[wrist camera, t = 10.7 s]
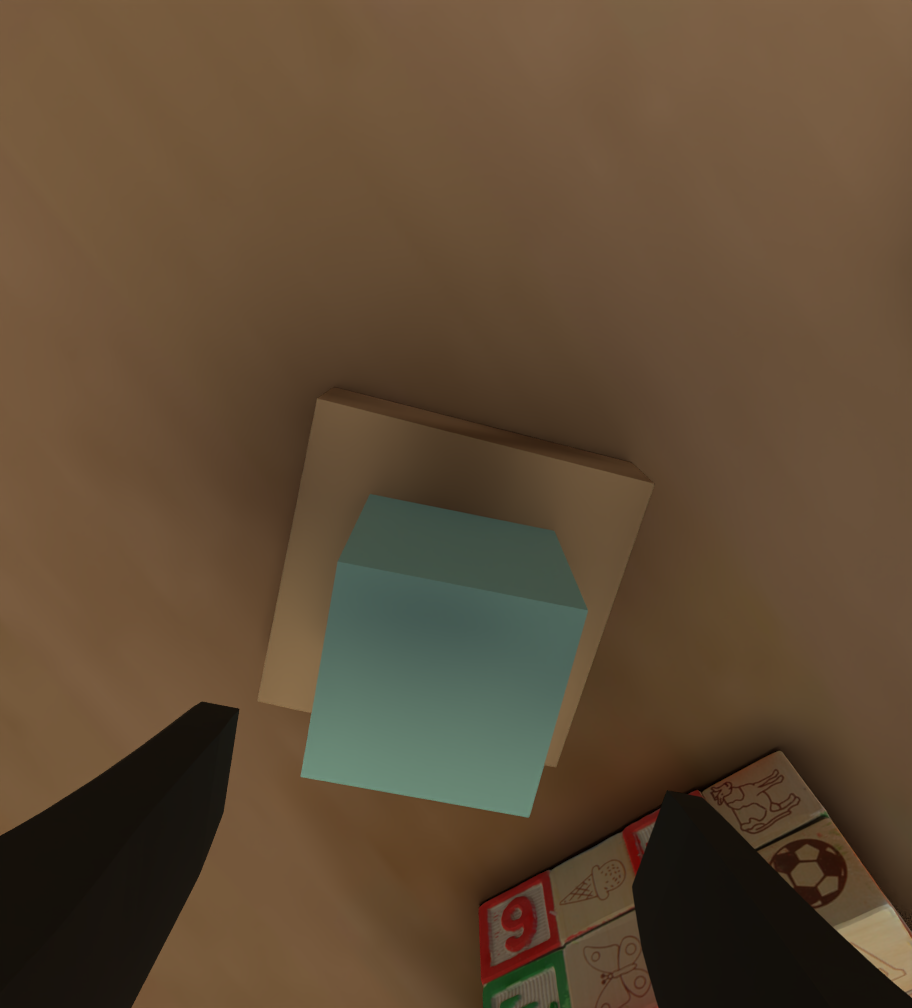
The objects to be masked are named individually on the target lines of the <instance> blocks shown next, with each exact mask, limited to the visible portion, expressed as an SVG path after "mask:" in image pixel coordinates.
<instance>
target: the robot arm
mask: <svg viewBox="0 0 912 1008" xmlns="http://www.w3.org/2000/svg"><path fill="white" fill-rule="evenodd" d="M238 714H239V709H238V708H233V707H228V706H222V705H217V704H212V703H207V702H200V703H199V704H197V705H195V706H194V707H192V708H191V709H190V710H188V711H187V712H186V713H184V714H183V715H182V716H181V717H179V718H178V719H177V720H175V721H174V722H173V723H171V724H170V725H169V726H167V727H166V728H165V729H163V730H162V731H161V732H160V733H158V734H157V735H155V736H154V737H153V738H151V739H150V740H149V741H147V742H146V743H145V744H143V745H142V746H141V747H139V748H138V749H136V750H135V751H134V752H132V753H131V754H129V755H128V756H126V757H125V758H124V759H122V760H121V761H119V762H118V763H117V764H115V765H114V766H112V767H111V768H109V769H108V770H107V771H105V772H104V773H102V774H101V775H99V776H98V777H96V778H95V779H93V780H92V781H90V782H89V783H87V784H86V785H84V786H82V787H81V788H79V789H78V790H76V791H75V792H73V793H71V794H70V795H68V796H67V797H65V798H63V799H62V800H60V801H59V802H57V803H56V804H54V805H52V806H51V807H49V808H48V809H46V810H44V811H43V812H41V813H39V814H38V815H36V816H34V817H33V818H31V819H29V820H27V821H26V822H24V823H22V824H21V825H19V826H17V827H15V828H14V829H12V830H10V831H8V832H6V833H5V834H3V835H1V836H0V1008H131V1007H132V1005H133V1003H134V1001H135V999H136V997H137V996H138V994H139V992H140V990H141V988H142V986H143V984H144V982H145V980H146V978H147V976H148V974H149V972H150V970H151V968H152V966H153V965H154V963H155V961H156V959H157V957H158V955H159V953H160V951H161V949H162V947H163V945H164V943H165V941H166V939H167V937H168V936H169V934H170V932H171V930H172V928H173V926H174V924H175V922H176V920H177V918H178V916H179V914H180V912H181V910H182V908H183V906H184V904H185V902H186V900H187V898H188V896H189V895H190V893H191V891H192V889H193V887H194V885H195V883H196V881H197V879H198V877H199V875H200V872H201V870H202V867H203V865H204V862H205V860H206V857H207V854H208V852H209V849H210V847H211V844H212V842H213V839H214V836H215V834H216V831H217V828H218V826H219V823H220V820H221V818H222V815H223V812H224V805H225V799H226V792H227V786H228V779H229V773H230V766H231V760H232V753H233V747H234V740H235V734H236V727H237V721H238ZM632 892H633V899H634V905H635V912H636V919H637V925H638V930H639V936H640V941H641V947H642V952H643V956H644V959H645V963H646V967H647V970H648V974H649V977H650V981H651V984H652V988H653V991H654V995H655V998H656V1002H657V1005H658V1008H912V997H910V996H909V995H908V994H907V993H906V992H904V991H903V990H902V989H901V988H900V987H898V986H897V985H896V984H895V983H894V982H893V981H891V980H890V979H889V978H888V977H887V976H886V975H885V974H883V973H882V972H881V971H880V970H879V969H878V968H877V967H875V966H874V965H873V964H872V963H871V962H870V961H869V960H868V959H867V958H866V957H865V956H863V955H862V954H861V953H860V952H859V951H858V950H857V949H856V948H855V947H854V946H853V945H852V944H850V943H849V942H848V941H847V940H846V939H845V938H844V937H843V936H842V935H841V934H840V933H839V932H838V931H836V930H835V929H834V928H833V927H832V926H831V925H830V924H829V923H828V922H827V921H826V920H825V919H824V918H823V917H822V916H821V915H820V914H819V913H818V912H817V911H816V910H815V909H814V908H813V907H812V906H811V905H810V904H808V903H807V902H806V901H805V900H804V899H803V898H802V897H801V896H800V895H799V894H798V893H797V892H796V891H795V890H794V889H793V888H792V887H791V886H790V885H789V884H788V883H787V882H786V881H785V880H784V878H783V877H782V876H781V875H780V874H779V873H778V872H777V871H776V870H775V869H774V868H773V867H772V866H771V865H770V864H769V863H768V862H767V861H766V860H765V859H764V858H763V857H762V856H761V855H760V854H759V853H758V852H757V851H756V850H755V849H754V848H753V847H752V846H751V845H750V844H749V843H748V842H747V841H746V840H745V839H744V838H743V836H742V835H741V834H740V833H739V832H738V831H737V830H736V829H735V828H734V827H733V826H732V825H731V824H730V823H729V822H728V821H727V820H726V819H725V818H724V817H723V816H722V815H721V814H720V813H719V812H718V811H717V810H715V809H714V808H713V807H712V806H711V805H710V804H709V803H708V802H707V801H706V800H705V799H704V798H702V797H699V796H694V795H689V794H683V793H678V792H673V791H668V790H667V792H666V794H665V797H664V800H663V803H662V805H661V808H660V811H659V813H658V816H657V819H656V822H655V824H654V827H653V830H652V833H651V835H650V838H649V841H648V843H647V846H646V849H645V852H644V854H643V857H642V860H641V863H640V865H639V868H638V871H637V873H636V876H635V879H634V882H633V884H632Z"/></svg>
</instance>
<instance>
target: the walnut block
mask: <svg viewBox="0 0 912 1008" xmlns="http://www.w3.org/2000/svg"><path fill="white" fill-rule="evenodd" d="M654 485H655V484H654V483H653V482H652V481H651V480H650V479H649V478H648V477H647V476H646V475H645V474H643V473H642V472H641V471H640V470H639V469H638V468H637V467H636V466H635V465H634V464H633V463H631V462H627V461H623V460H619V459H616V458H612V457H608V456H604V455H600V454H596V453H592V452H588V451H584V450H580V449H576V448H572V447H568V446H564V445H560V444H556V443H553V442H549V441H545V440H541V439H537V438H533V437H529V436H525V435H521V434H517V433H513V432H509V431H505V430H501V429H497V428H494V427H490V426H486V425H482V424H478V423H474V422H470V421H466V420H462V419H458V418H454V417H450V416H446V415H442V414H438V413H434V412H431V411H427V410H423V409H419V408H415V407H411V406H407V405H403V404H399V403H395V402H391V401H387V400H383V399H379V398H375V397H372V396H368V395H364V394H360V393H356V392H352V391H348V390H344V389H340V388H336V387H333V388H332V389H330V390H329V391H327V392H326V393H324V394H323V395H321V396H320V397H318V398H317V402H316V407H315V412H314V417H313V422H312V427H311V432H310V437H309V442H308V447H307V452H306V457H305V462H304V467H303V472H302V477H301V482H300V487H299V493H298V498H297V503H296V508H295V513H294V518H293V523H292V528H291V533H290V538H289V543H288V548H287V553H286V558H285V563H284V568H283V573H282V578H281V583H280V589H279V594H278V599H277V604H276V609H275V614H274V619H273V624H272V629H271V634H270V639H269V644H268V649H267V654H266V659H265V664H264V669H263V674H262V679H261V685H260V690H259V695H258V700H257V701H259V702H264V703H268V704H273V705H277V706H282V707H286V708H291V709H295V710H300V711H304V712H309V713H312V708H313V702H314V696H315V691H316V685H317V679H318V673H319V667H320V661H321V656H322V650H323V644H324V638H325V632H326V626H327V621H328V615H329V609H330V603H331V597H332V591H333V586H334V580H335V574H336V568H337V562H338V560H339V558H340V555H341V553H342V551H343V549H344V547H345V545H346V543H347V541H348V539H349V537H350V535H351V533H352V530H353V528H354V526H355V524H356V522H357V520H358V518H359V516H360V514H361V512H362V510H363V508H364V505H365V503H366V501H367V499H368V497H369V495H370V494H373V495H378V496H383V497H388V498H393V499H398V500H403V501H408V502H413V503H418V504H423V505H428V506H433V507H438V508H443V509H448V510H453V511H458V512H463V513H468V514H473V515H478V516H483V517H488V518H493V519H498V520H503V521H508V522H513V523H517V524H522V525H527V526H532V527H537V528H542V529H547V530H552V531H555V533H556V536H557V538H558V541H559V543H560V545H561V548H562V550H563V552H564V555H565V557H566V559H567V562H568V564H569V566H570V569H571V571H572V573H573V576H574V578H575V581H576V583H577V585H578V588H579V590H580V592H581V595H582V597H583V599H584V602H585V604H586V606H587V609H588V613H587V617H586V620H585V624H584V627H583V631H582V634H581V638H580V641H579V645H578V648H577V652H576V655H575V659H574V662H573V666H572V669H571V673H570V676H569V680H568V683H567V687H566V690H565V694H564V697H563V701H562V704H561V708H560V711H559V715H558V718H557V722H556V725H555V729H554V732H553V736H552V739H551V743H550V746H549V750H548V753H547V757H546V760H545V764H544V765H548V766H552V767H556V766H557V763H558V760H559V757H560V754H561V752H562V749H563V746H564V743H565V740H566V737H567V734H568V731H569V729H570V726H571V723H572V720H573V717H574V714H575V711H576V709H577V706H578V703H579V700H580V697H581V694H582V691H583V688H584V686H585V683H586V680H587V677H588V674H589V671H590V668H591V665H592V663H593V660H594V657H595V654H596V651H597V648H598V645H599V643H600V640H601V637H602V634H603V631H604V628H605V625H606V622H607V620H608V617H609V614H610V611H611V608H612V605H613V602H614V599H615V597H616V594H617V591H618V588H619V585H620V582H621V579H622V577H623V574H624V571H625V568H626V565H627V562H628V559H629V556H630V554H631V551H632V548H633V545H634V542H635V539H636V536H637V534H638V531H639V528H640V525H641V522H642V519H643V516H644V513H645V511H646V508H647V505H648V502H649V499H650V496H651V493H652V490H653V488H654Z"/></svg>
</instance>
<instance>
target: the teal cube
mask: <svg viewBox="0 0 912 1008" xmlns="http://www.w3.org/2000/svg"><path fill="white" fill-rule="evenodd" d="M587 613H588V609H587V606H586V604H585V602H584V599H583V597H582V595H581V592H580V590H579V588H578V585H577V583H576V581H575V578H574V576H573V573H572V571H571V569H570V566H569V564H568V562H567V559H566V557H565V555H564V552H563V550H562V548H561V545H560V543H559V541H558V538H557V536H556V533H555V531H552V530H547V529H542V528H537V527H532V526H527V525H522V524H517V523H513V522H508V521H503V520H498V519H493V518H488V517H483V516H478V515H473V514H468V513H463V512H458V511H453V510H448V509H443V508H438V507H433V506H428V505H423V504H418V503H413V502H408V501H403V500H398V499H393V498H388V497H383V496H378V495H373V494H370V495H369V497H368V499H367V501H366V503H365V505H364V508H363V510H362V512H361V514H360V516H359V518H358V520H357V522H356V524H355V526H354V528H353V530H352V533H351V535H350V537H349V539H348V541H347V543H346V545H345V547H344V549H343V551H342V553H341V555H340V558H339V560H338V562H337V568H336V574H335V580H334V586H333V591H332V597H331V603H330V609H329V615H328V621H327V626H326V632H325V638H324V644H323V650H322V656H321V661H320V667H319V673H318V679H317V685H316V691H315V696H314V702H313V708H312V714H311V720H310V726H309V731H308V737H307V743H306V749H305V755H304V761H303V766H302V772H301V777H305V778H310V779H316V780H321V781H327V782H333V783H338V784H344V785H349V786H355V787H361V788H366V789H372V790H377V791H383V792H389V793H394V794H400V795H405V796H411V797H417V798H422V799H428V800H433V801H439V802H445V803H450V804H456V805H461V806H467V807H473V808H478V809H484V810H489V811H495V812H501V813H506V814H512V815H517V816H523V817H529V816H530V813H531V809H532V806H533V802H534V799H535V795H536V792H537V788H538V785H539V781H540V778H541V774H542V771H543V767H544V764H545V760H546V757H547V753H548V750H549V746H550V743H551V739H552V736H553V732H554V729H555V725H556V722H557V718H558V715H559V711H560V708H561V704H562V701H563V697H564V694H565V690H566V687H567V683H568V680H569V676H570V673H571V669H572V666H573V662H574V659H575V655H576V652H577V648H578V645H579V641H580V638H581V634H582V631H583V627H584V624H585V620H586V617H587Z"/></svg>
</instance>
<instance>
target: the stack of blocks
mask: <svg viewBox="0 0 912 1008" xmlns="http://www.w3.org/2000/svg"><path fill="white" fill-rule="evenodd" d="M689 795H694V796H699V797H702V798H704V799H705V800H706V801H707V802H708V803H709V804H710V805H711V806H712V807H713V808H714V809H715V810H717V811H718V812H719V813H720V814H721V815H722V816H723V817H724V818H725V819H726V820H727V821H728V822H729V823H730V824H731V825H732V826H733V827H734V828H735V829H736V830H737V831H738V832H739V833H740V834H741V835H742V836H743V838H744V839H745V840H746V841H747V842H748V843H749V844H750V845H751V846H752V847H753V848H754V849H755V850H756V851H757V852H758V853H759V854H760V855H761V856H762V857H763V858H764V859H765V860H766V861H767V862H768V863H769V864H770V865H771V866H772V867H773V868H774V869H775V870H776V871H777V872H778V873H779V874H780V875H781V876H782V877H783V878H784V880H785V881H786V882H787V883H788V884H789V885H790V886H791V887H792V888H793V889H794V890H795V891H796V892H797V893H798V894H799V895H800V896H801V897H802V898H803V899H804V900H805V901H806V902H807V903H808V904H810V905H811V906H812V907H813V908H814V909H815V910H816V911H817V912H818V913H819V914H820V915H821V916H822V917H823V918H824V919H825V920H826V921H827V922H828V923H829V924H830V925H831V926H832V927H833V928H834V929H835V930H836V931H838V932H839V933H840V934H841V935H842V936H843V937H844V938H845V939H846V940H847V941H848V942H849V943H850V944H852V945H853V946H854V947H855V948H856V949H857V950H858V951H859V952H860V953H861V954H862V955H863V956H865V957H866V958H867V959H868V960H869V961H870V962H871V963H872V964H873V965H874V966H875V967H877V968H878V969H879V970H880V971H881V972H882V973H883V974H885V975H886V976H887V977H888V978H889V979H890V980H891V981H893V982H894V983H895V984H896V985H897V986H898V987H900V988H901V989H902V990H903V991H904V992H906V993H907V994H908V995H909V996H910V997H912V931H911V930H910V929H909V927H908V926H907V924H906V923H905V922H904V920H903V919H902V918H901V916H900V915H899V913H898V912H897V911H896V909H895V908H894V907H893V905H892V904H891V903H890V901H889V900H888V899H887V897H886V896H885V895H884V893H883V892H882V891H881V889H880V888H879V886H878V885H877V884H876V882H875V881H874V879H873V878H872V876H871V875H870V874H869V872H868V871H867V869H866V868H865V867H864V865H863V864H862V862H861V861H860V859H859V858H858V857H857V855H856V854H855V852H854V851H853V850H852V848H851V847H850V845H849V844H848V842H847V841H846V840H845V838H844V837H843V835H842V834H841V833H840V831H839V830H838V828H837V827H836V826H835V824H834V823H833V821H832V820H831V818H830V817H829V815H828V813H827V811H826V810H825V809H824V807H823V806H822V805H821V803H820V802H819V801H818V799H817V798H816V797H815V795H814V794H813V793H812V791H811V790H810V789H809V787H808V786H807V785H806V783H805V782H804V781H803V779H802V778H801V777H800V775H799V774H798V773H797V771H796V770H795V768H794V767H793V766H792V764H791V763H790V762H789V760H788V759H787V758H786V756H785V755H784V754H783V752H782V751H777V752H775V753H772V754H770V755H768V756H766V757H764V758H762V759H760V760H758V761H757V762H755V763H753V764H751V765H749V766H747V767H746V768H744V769H742V770H740V771H738V772H736V773H734V774H733V775H731V776H729V777H727V778H725V779H723V780H721V781H720V782H718V783H716V784H714V785H712V786H710V787H709V788H707V789H706V790H704V791H703V792H700V791H698V790H696V791H693V792H691V793H689ZM659 811H660V809H658V810H657V811H655V812H653V813H652V814H649V815H647V816H645V817H643V818H642V819H640V820H639V821H637V822H635V823H633V824H631V825H629V826H627V827H626V828H625V829H624V830H623V831H622V832H621V833H618V834H616V835H614V836H612V837H610V838H608V839H606V840H605V841H603V842H601V843H599V844H598V845H596V846H594V847H592V848H590V849H589V850H587V851H585V852H583V853H581V854H579V855H577V856H575V857H573V858H571V859H569V860H567V861H565V862H564V863H562V864H560V865H558V866H557V867H555V868H554V869H552V870H547V871H545V872H543V873H540V874H538V875H536V876H535V877H533V878H531V879H529V880H527V881H525V882H523V883H521V884H520V885H518V886H516V887H514V888H513V889H511V890H509V891H507V892H505V893H503V894H501V895H499V896H497V897H495V898H493V899H491V900H489V901H487V902H485V903H484V904H482V905H481V906H480V907H479V935H480V957H481V981H482V984H483V987H484V989H483V1008H658V1005H657V1002H656V998H655V995H654V991H653V988H652V984H651V981H650V977H649V974H648V970H647V967H646V963H645V959H644V956H643V952H642V947H641V941H640V936H639V930H638V925H637V919H636V912H635V905H634V899H633V892H632V884H633V882H634V879H635V876H636V873H637V871H638V868H639V865H640V863H641V860H642V857H643V854H644V852H645V849H646V846H647V843H648V841H649V838H650V835H651V833H652V830H653V827H654V824H655V822H656V819H657V816H658V813H659Z"/></svg>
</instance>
